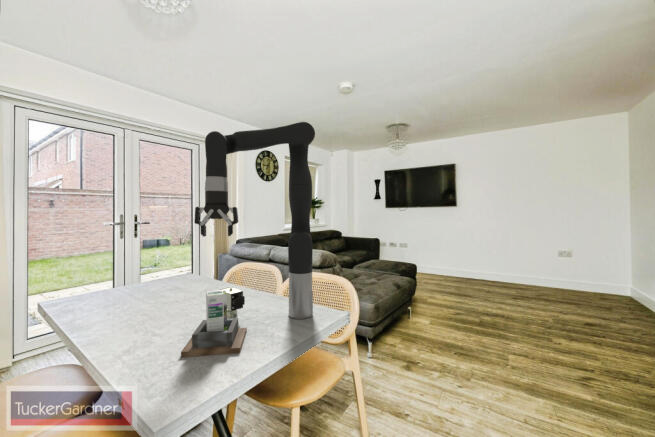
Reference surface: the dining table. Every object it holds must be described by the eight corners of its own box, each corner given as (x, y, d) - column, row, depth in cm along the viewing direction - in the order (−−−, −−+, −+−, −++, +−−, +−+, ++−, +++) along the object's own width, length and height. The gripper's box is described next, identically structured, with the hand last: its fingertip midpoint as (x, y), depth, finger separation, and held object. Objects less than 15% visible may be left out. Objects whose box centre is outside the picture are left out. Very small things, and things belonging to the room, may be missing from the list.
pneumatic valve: (233, 324, 99) (233, 291, 99) (217, 316, 107) (217, 286, 106) (247, 320, 103) (247, 288, 103) (230, 312, 111) (230, 283, 111)
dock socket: (246, 332, 93) (246, 315, 93) (240, 352, 79) (240, 334, 79) (196, 335, 91) (196, 318, 91) (180, 357, 77) (180, 337, 77)
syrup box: (206, 344, 81) (206, 295, 81) (206, 336, 87) (206, 290, 86) (227, 340, 84) (227, 293, 83) (225, 333, 89) (225, 288, 89)
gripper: (239, 191, 102) (239, 235, 103) (198, 191, 100) (198, 235, 100) (235, 189, 95) (236, 236, 95) (191, 189, 93) (192, 237, 93)
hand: (216, 236), depth 98 cm, fingers open, 8 cm apart
